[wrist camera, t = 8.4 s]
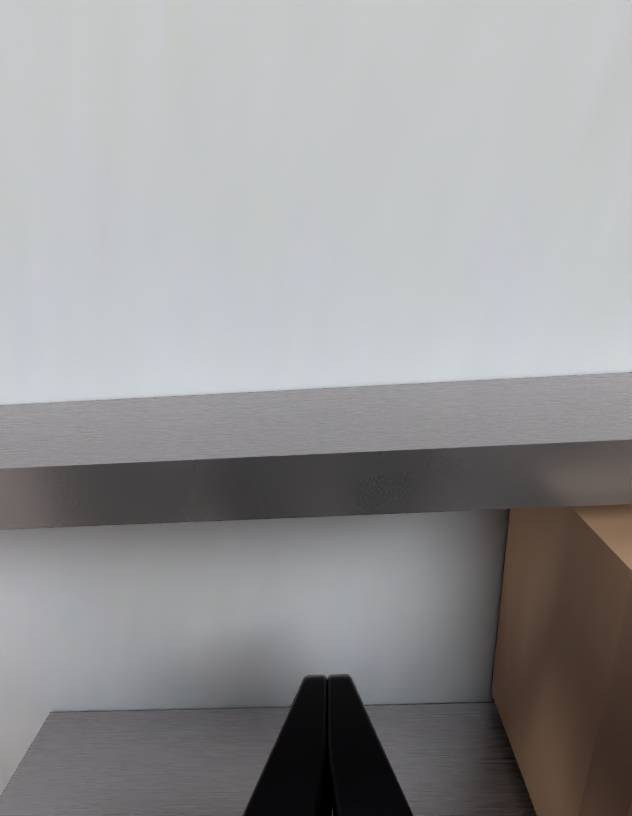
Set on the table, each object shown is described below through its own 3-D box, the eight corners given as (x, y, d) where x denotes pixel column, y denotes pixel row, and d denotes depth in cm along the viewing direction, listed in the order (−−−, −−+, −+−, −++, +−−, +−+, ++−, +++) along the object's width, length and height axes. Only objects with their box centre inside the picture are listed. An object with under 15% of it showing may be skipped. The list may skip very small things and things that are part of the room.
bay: (769, 723, 12) (910, 872, 9) (59, 737, 13) (-19, 878, 10) (920, 357, 8) (1222, 411, 6) (-64, 408, 9) (-239, 480, 6)
